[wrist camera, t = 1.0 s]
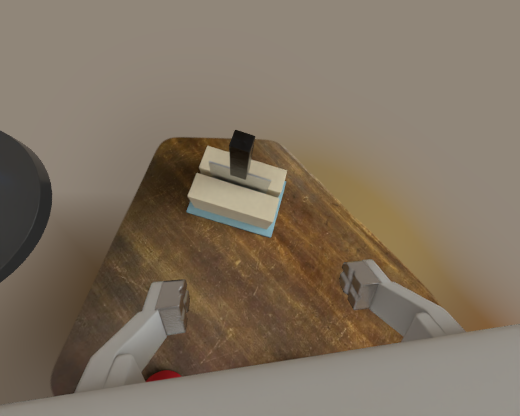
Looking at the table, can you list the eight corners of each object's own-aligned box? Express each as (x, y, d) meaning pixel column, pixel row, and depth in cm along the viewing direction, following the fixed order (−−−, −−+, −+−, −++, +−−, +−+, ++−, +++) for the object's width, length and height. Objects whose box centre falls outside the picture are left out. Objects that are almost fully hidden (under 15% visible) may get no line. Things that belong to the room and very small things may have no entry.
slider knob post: (210, 185, 34) (197, 135, 21) (214, 174, 34) (204, 119, 22) (263, 201, 34) (280, 161, 21) (266, 190, 34) (285, 145, 22)
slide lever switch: (186, 212, 37) (177, 200, 30) (207, 158, 40) (203, 137, 33) (270, 237, 37) (278, 231, 31) (285, 182, 40) (295, 166, 34)
